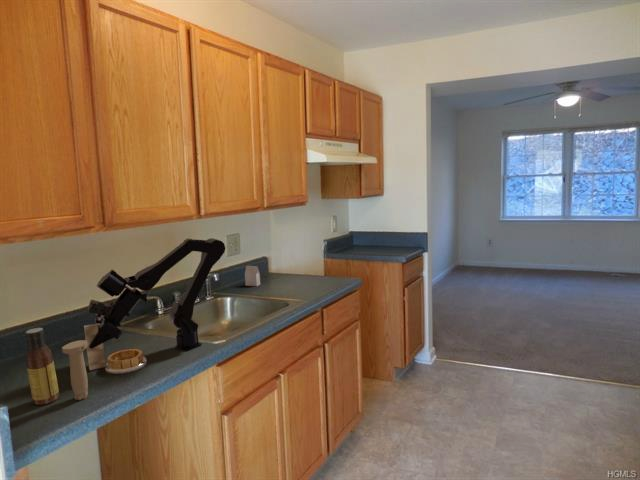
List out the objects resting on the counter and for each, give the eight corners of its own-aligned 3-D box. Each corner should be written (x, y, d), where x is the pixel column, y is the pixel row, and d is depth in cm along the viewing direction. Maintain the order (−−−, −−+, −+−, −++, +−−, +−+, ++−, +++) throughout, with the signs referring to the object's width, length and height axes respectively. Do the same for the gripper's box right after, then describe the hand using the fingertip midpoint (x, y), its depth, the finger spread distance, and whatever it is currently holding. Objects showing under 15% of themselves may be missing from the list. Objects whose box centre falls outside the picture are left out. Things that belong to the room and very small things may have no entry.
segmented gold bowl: (132, 355, 157) (131, 345, 156) (154, 362, 150) (153, 352, 149) (97, 368, 147) (96, 358, 146) (119, 377, 140) (118, 365, 139)
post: (104, 362, 152) (99, 323, 150) (105, 366, 148) (100, 326, 146) (88, 365, 150) (83, 325, 148) (89, 370, 146) (84, 329, 144)
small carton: (256, 286, 245) (255, 267, 244) (245, 285, 248) (244, 266, 246) (260, 284, 248) (259, 265, 247) (249, 283, 251) (247, 265, 250)
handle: (64, 402, 125) (57, 348, 123) (83, 391, 132) (76, 339, 129) (79, 404, 124) (72, 349, 122) (97, 393, 130) (91, 340, 128)
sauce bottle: (53, 392, 132) (44, 324, 129) (63, 399, 128) (54, 328, 125) (27, 402, 127) (17, 330, 124) (37, 409, 123) (26, 335, 120)
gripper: (99, 284, 155) (65, 323, 152) (105, 296, 139) (67, 340, 136) (127, 303, 160) (95, 342, 157) (136, 317, 144) (100, 360, 140)
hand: (89, 345), depth 147 cm, fingers closed on post, 4 cm apart
